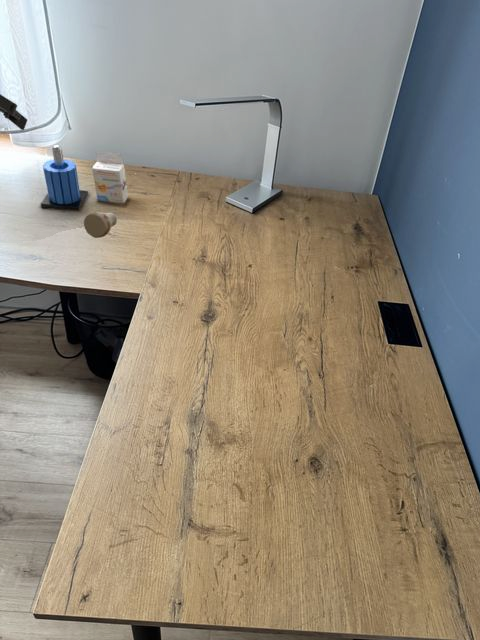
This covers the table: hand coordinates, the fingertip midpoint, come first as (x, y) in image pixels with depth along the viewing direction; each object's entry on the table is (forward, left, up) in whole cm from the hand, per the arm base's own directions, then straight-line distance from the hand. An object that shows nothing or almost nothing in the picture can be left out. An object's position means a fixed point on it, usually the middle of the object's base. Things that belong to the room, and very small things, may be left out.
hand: (0, 118), depth 123 cm
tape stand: (+6, +17, -30) cm, 35 cm away
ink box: (+20, +20, -30) cm, 41 cm away
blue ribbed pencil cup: (+6, +17, -28) cm, 33 cm away
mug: (+21, +2, -30) cm, 37 cm away
